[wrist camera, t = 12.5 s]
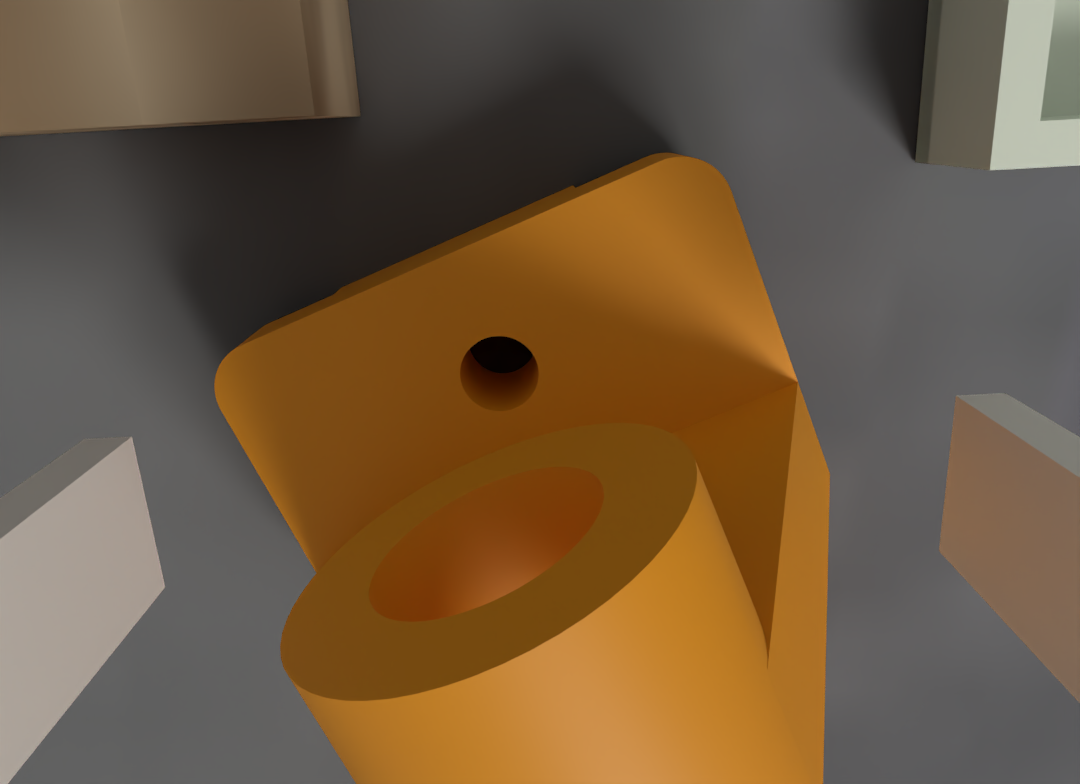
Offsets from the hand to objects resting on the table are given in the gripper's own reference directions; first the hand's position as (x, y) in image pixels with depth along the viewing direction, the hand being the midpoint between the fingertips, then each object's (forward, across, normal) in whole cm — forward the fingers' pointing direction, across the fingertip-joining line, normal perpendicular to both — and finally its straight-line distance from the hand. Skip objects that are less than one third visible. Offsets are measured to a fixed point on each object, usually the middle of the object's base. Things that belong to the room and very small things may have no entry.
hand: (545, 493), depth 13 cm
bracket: (+6, 0, 0) cm, 6 cm away
